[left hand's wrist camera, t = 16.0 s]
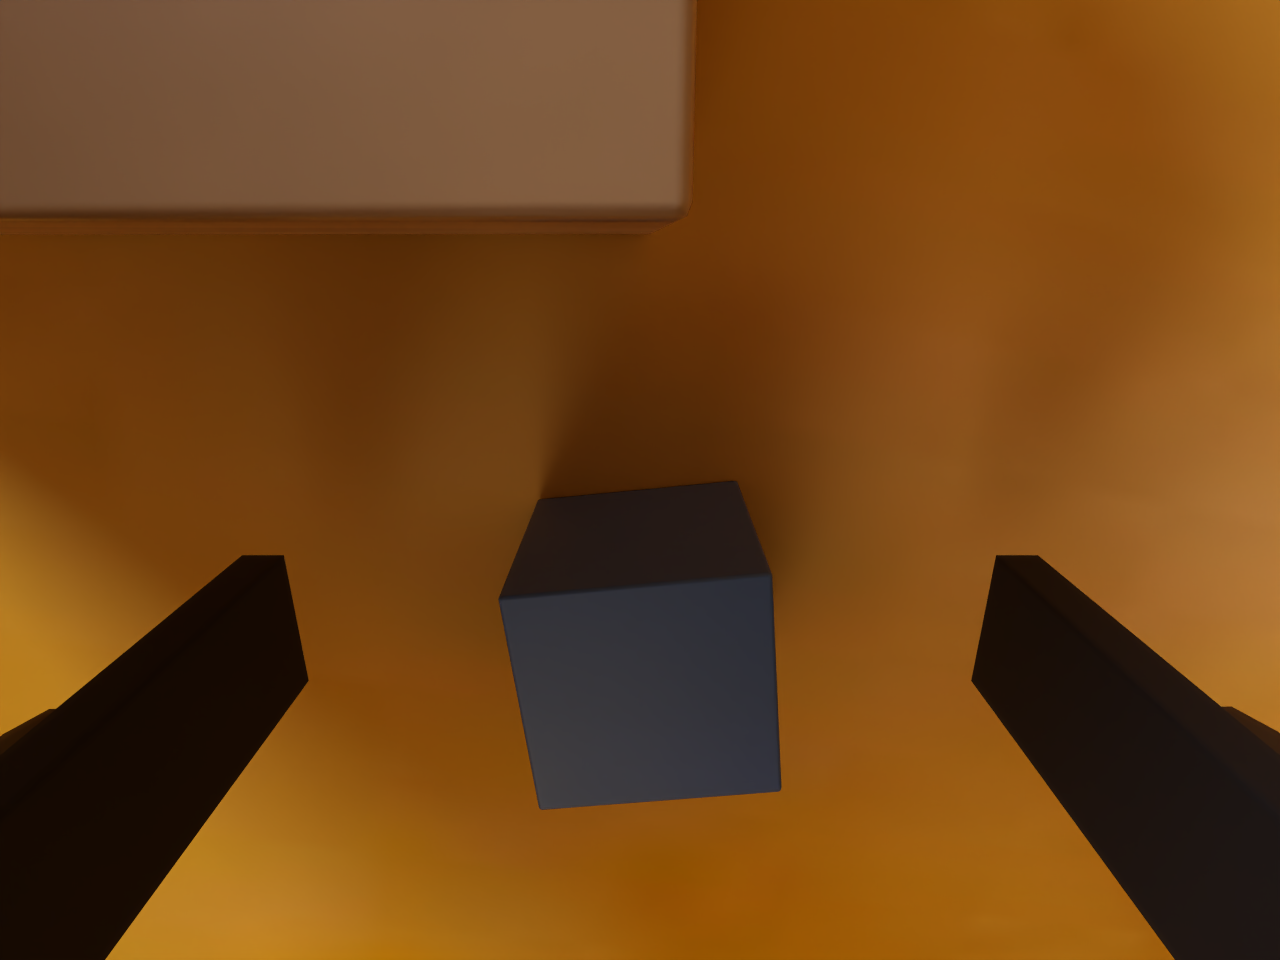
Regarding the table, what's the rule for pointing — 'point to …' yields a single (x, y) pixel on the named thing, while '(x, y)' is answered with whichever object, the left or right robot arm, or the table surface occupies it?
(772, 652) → the block
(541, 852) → the table surface
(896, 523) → the table surface
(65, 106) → the chest
